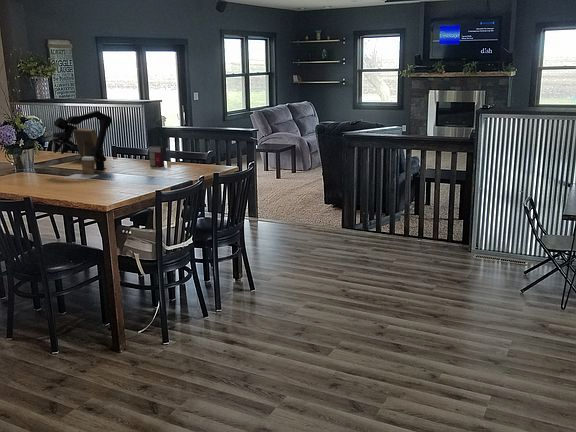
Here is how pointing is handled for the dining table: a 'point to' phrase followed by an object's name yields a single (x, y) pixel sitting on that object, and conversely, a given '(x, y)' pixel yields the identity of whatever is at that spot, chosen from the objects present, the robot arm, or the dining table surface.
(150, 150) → the red and grey box
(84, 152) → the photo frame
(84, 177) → the mat
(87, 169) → the walnut block
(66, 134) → the robot arm
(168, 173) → the dining table surface
